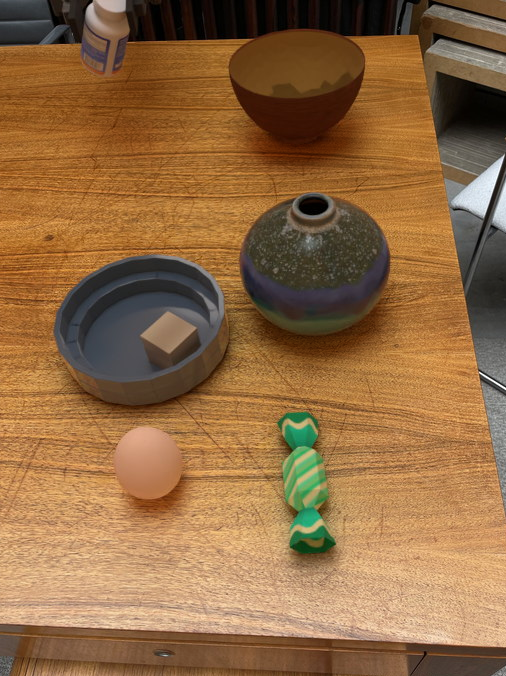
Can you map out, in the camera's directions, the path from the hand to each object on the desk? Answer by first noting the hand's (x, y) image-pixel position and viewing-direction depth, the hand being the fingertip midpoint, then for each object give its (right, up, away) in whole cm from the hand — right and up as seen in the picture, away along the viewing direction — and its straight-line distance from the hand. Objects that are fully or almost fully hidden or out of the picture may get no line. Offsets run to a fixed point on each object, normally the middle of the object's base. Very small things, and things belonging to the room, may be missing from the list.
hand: (103, 27), depth 73 cm
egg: (+9, -50, -15) cm, 53 cm away
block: (+10, -38, -8) cm, 40 cm away
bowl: (+23, -6, +17) cm, 29 cm away
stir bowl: (+6, -36, -5) cm, 37 cm away
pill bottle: (-3, +1, +11) cm, 11 cm away
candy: (+23, -50, -17) cm, 57 cm away
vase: (+24, -32, -3) cm, 41 cm away
